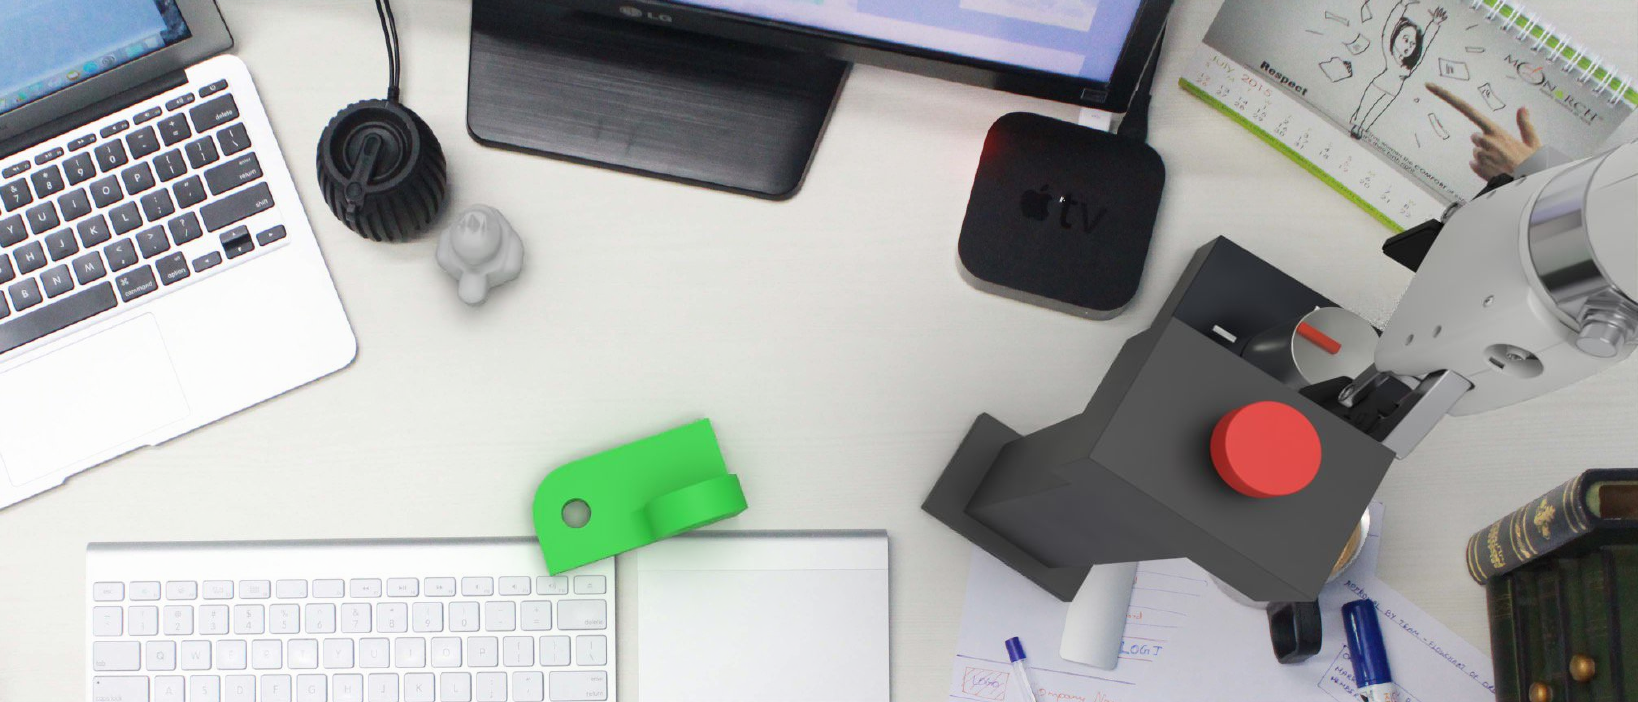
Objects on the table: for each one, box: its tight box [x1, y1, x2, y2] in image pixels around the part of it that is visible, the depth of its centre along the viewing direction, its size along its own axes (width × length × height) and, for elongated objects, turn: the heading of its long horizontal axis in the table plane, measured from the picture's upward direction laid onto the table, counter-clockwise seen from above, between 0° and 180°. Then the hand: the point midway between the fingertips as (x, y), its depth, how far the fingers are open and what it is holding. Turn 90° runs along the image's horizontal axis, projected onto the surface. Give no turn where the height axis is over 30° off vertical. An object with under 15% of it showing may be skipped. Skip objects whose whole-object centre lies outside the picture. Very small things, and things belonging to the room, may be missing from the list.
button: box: [1211, 401, 1321, 498], centre depth 46 cm, size 4×4×1 cm
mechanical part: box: [531, 417, 749, 577], centre depth 69 cm, size 12×6×8 cm, turn 108°
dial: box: [1241, 307, 1379, 392], centre depth 68 cm, size 5×5×6 cm
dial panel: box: [1149, 234, 1412, 403], centre depth 73 cm, size 14×11×3 cm
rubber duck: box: [435, 203, 525, 308], centre depth 73 cm, size 5×7×8 cm
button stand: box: [920, 316, 1397, 603], centre depth 60 cm, size 10×7×26 cm
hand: (1365, 334), depth 63 cm, fingers open, 9 cm apart
